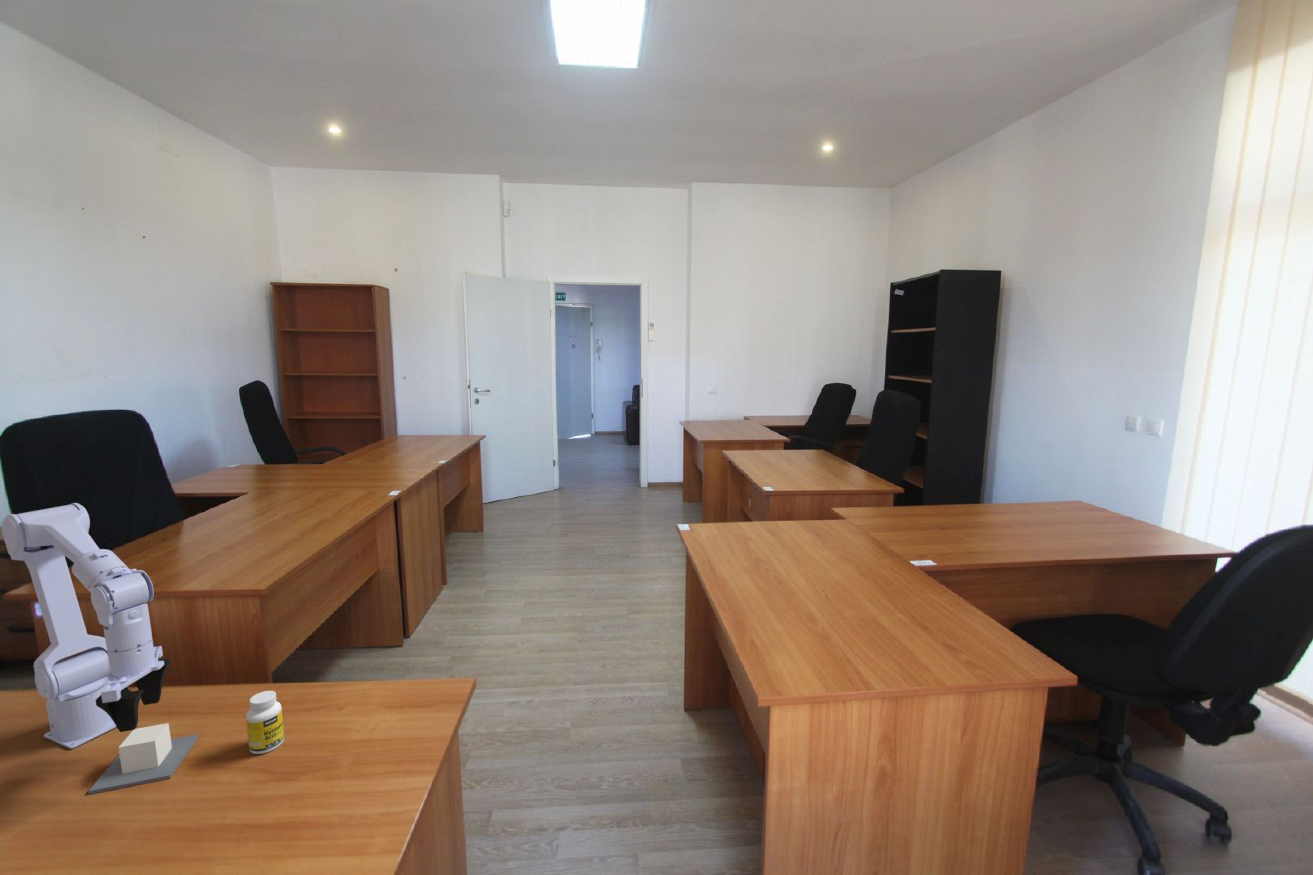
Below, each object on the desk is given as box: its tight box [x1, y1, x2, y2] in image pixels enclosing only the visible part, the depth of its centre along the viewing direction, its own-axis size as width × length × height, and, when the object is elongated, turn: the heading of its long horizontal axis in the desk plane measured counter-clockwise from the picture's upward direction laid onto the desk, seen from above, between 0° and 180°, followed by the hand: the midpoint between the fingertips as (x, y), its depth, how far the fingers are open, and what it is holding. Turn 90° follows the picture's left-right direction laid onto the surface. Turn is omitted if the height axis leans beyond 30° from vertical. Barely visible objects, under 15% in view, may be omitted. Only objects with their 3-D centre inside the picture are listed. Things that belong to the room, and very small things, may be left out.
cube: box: [117, 722, 172, 774], centre depth 98 cm, size 5×5×5 cm
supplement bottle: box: [245, 690, 285, 755], centre depth 103 cm, size 5×5×10 cm
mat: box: [87, 734, 200, 795], centre depth 99 cm, size 11×11×1 cm
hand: (140, 715), depth 97 cm, fingers open, 7 cm apart
